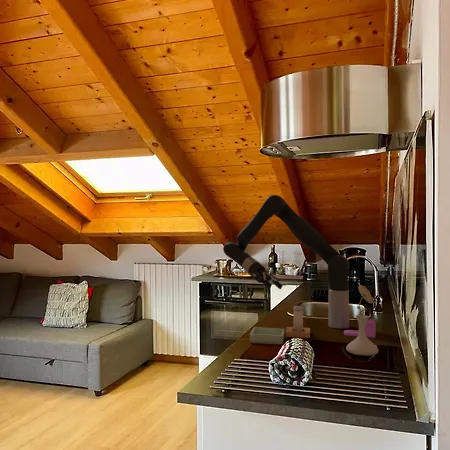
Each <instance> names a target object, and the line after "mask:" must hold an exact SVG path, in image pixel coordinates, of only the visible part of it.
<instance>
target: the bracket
mask: <svg viewBox="0 0 450 450" xmlns="http://www.w3.org/2000/svg"><path fill="white" fill-rule="evenodd" d="M376 327H377V325H376V321H375V320H374V319H373V318H368V320H367V322H366V328H365V333H366V337H367V338H372V339H375V338H376V335H377V334H376V331H377V329H376ZM343 334H344V335H345V336H350V337H358V335H359V330H353V329H346V330H345V329H344V331H343Z"/></svg>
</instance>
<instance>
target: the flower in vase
mask: <svg viewBox="0 0 450 450" xmlns="http://www.w3.org/2000/svg"><path fill="white" fill-rule="evenodd" d="M358 291H359V293H360V295H361V298H360V300H359V303H358V304H357V305H356V308H357V309H358V310H359V312H360V314H356V315H355V316H354V317H355V318H356V319H357V323H358V331H359V335H358V336H356V338H355V339H353V340H351V341H350V342H349V343H348V344H347V345H346V347H345V348H346V349H345V350H346V351H347V352H348V353H350V354H352V355H357V356H363V357H364V356H367V357H368V356H374V355H377V354H378V353H379V348H378V346H376V344H375V343H373V342H372V340H370V339H369V337H366V333H365V331H366V323H367V320H369V319H370V316H369V315H365V314H362V312H364V311H366V310H367V309H368V308H367V307H365V308H364V309H362V310H361V304H362V300H363V299H364V300H365V301H366V302H367V303H369V304H373V303H374V301H373V300H374V297H373V296H372V294H371V291H370V290H368V288H366V286H365V285H362V284H360V285H358Z"/></svg>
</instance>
